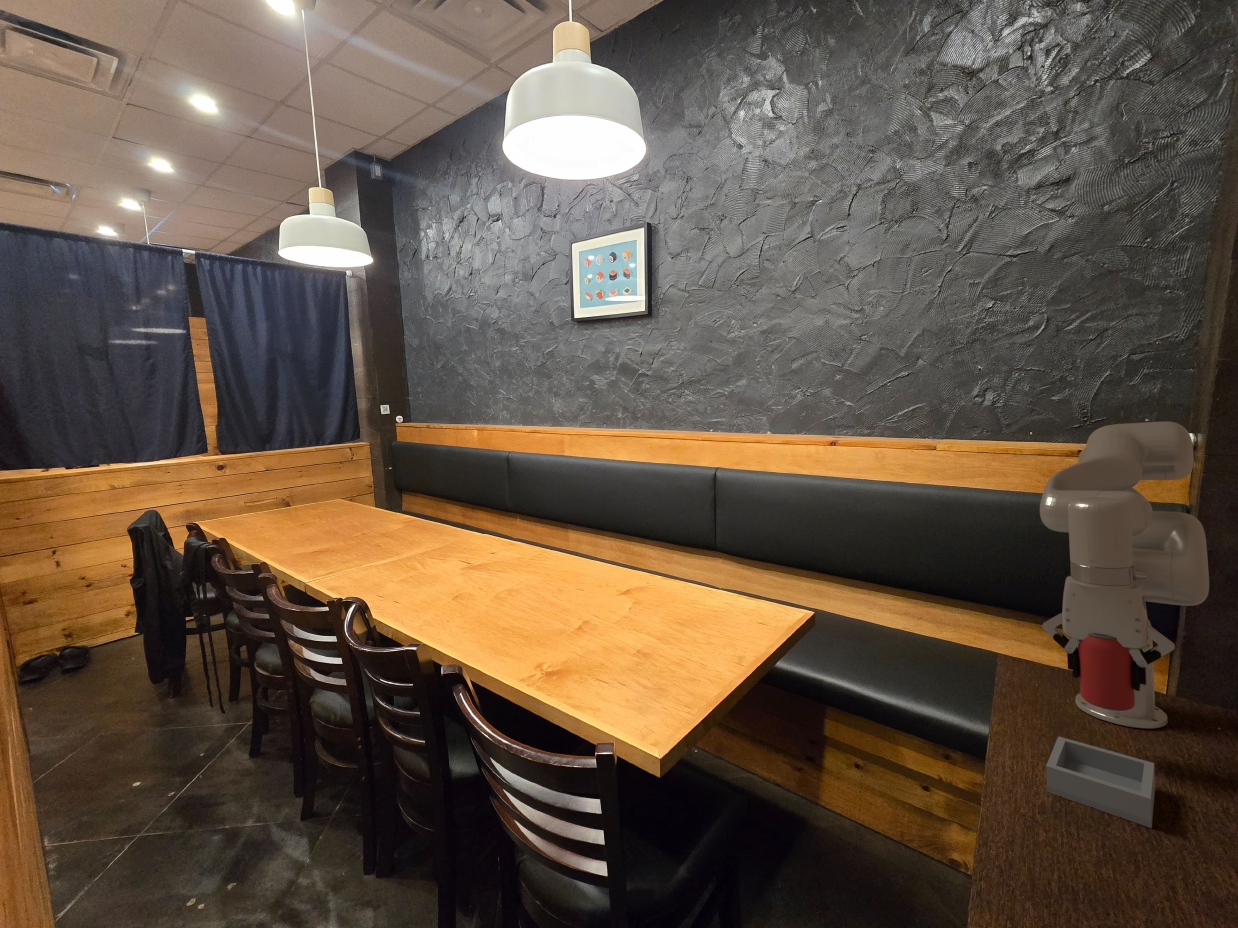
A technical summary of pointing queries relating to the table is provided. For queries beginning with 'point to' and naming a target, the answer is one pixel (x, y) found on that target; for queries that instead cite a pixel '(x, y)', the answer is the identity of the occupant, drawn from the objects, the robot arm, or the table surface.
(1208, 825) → the table surface
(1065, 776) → the tray
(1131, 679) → the beer can
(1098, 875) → the table surface
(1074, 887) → the table surface
